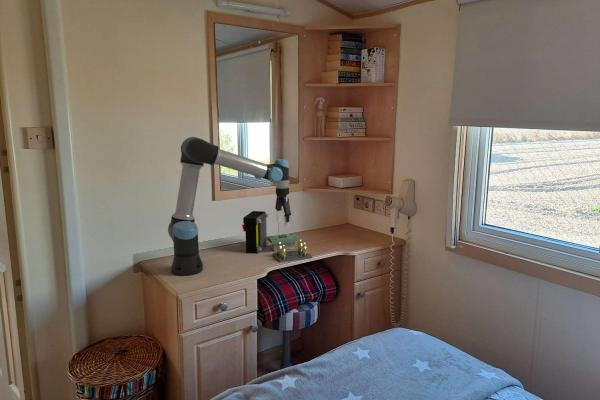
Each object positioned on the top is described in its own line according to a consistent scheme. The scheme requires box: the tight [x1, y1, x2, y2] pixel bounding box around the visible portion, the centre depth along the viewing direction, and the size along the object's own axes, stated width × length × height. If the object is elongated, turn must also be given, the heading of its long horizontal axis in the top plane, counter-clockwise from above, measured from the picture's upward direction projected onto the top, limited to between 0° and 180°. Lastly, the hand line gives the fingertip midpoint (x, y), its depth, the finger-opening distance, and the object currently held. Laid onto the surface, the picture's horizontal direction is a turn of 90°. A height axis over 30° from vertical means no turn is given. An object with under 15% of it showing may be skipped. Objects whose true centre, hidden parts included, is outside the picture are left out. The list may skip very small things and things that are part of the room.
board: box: [267, 233, 300, 245], centre depth 246 cm, size 16×10×3 cm, turn 111°
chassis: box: [272, 238, 313, 263], centre depth 233 cm, size 18×13×8 cm
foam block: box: [271, 242, 295, 252], centre depth 247 cm, size 12×5×5 cm, turn 111°
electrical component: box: [241, 210, 269, 255], centre depth 246 cm, size 18×10×20 cm, turn 168°
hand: (283, 224), depth 245 cm, fingers open, 13 cm apart
